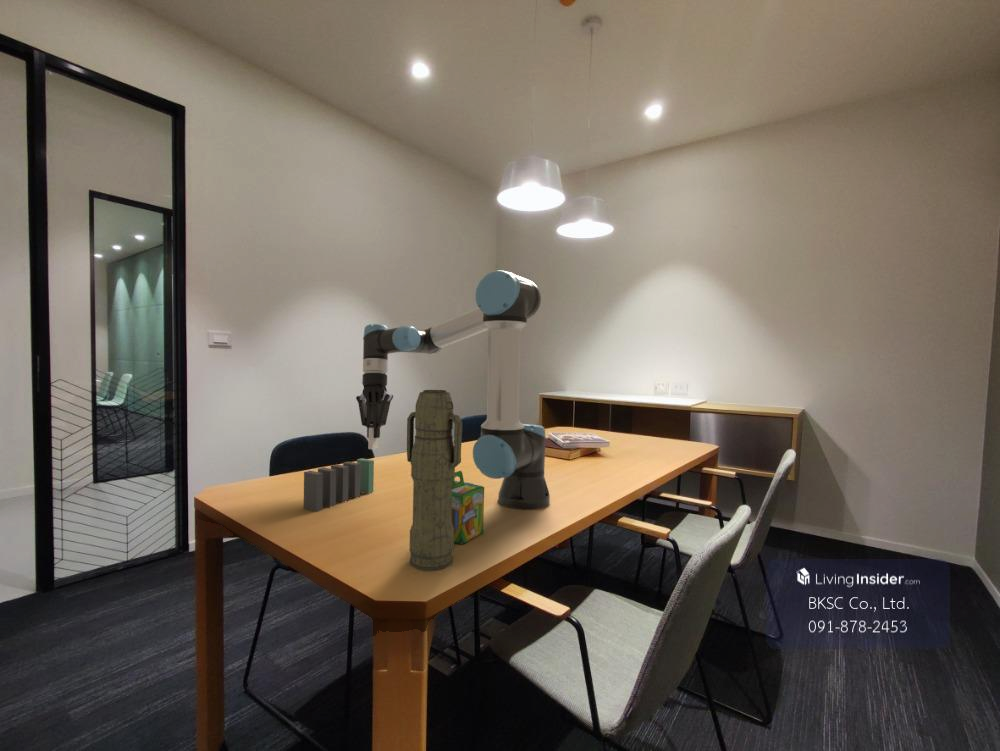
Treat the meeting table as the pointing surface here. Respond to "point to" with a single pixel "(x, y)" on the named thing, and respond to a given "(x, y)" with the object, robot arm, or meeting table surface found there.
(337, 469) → the domino
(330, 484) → the domino
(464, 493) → the chalk box
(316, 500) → the domino
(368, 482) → the green domino
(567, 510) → the meeting table surface
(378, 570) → the meeting table surface
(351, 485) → the domino
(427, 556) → the thermos
